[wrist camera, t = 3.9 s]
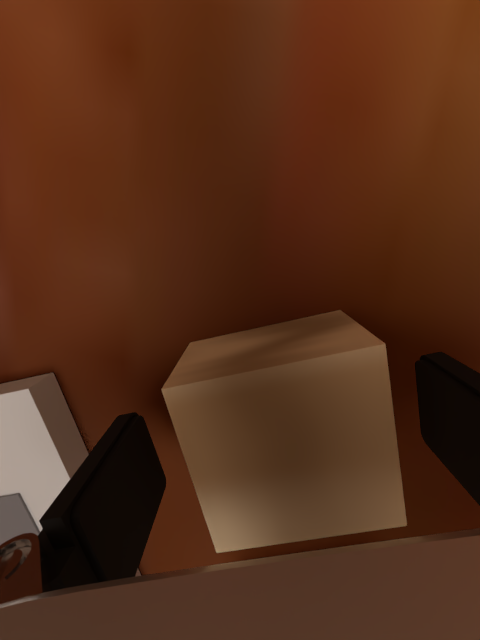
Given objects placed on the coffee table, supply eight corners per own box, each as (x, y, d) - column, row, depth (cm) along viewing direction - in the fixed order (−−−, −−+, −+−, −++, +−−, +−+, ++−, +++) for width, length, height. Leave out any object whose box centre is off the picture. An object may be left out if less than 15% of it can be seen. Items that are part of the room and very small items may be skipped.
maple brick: (338, 308, 11) (385, 343, 7) (359, 438, 13) (406, 525, 9) (190, 341, 12) (161, 389, 8) (226, 461, 13) (216, 553, 9)
